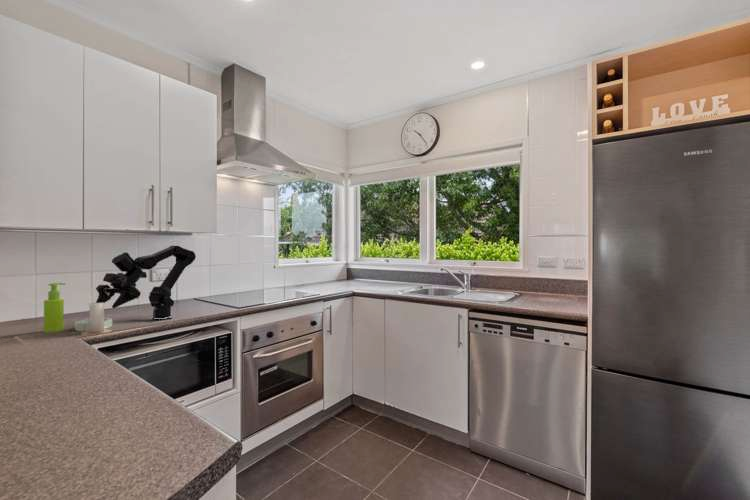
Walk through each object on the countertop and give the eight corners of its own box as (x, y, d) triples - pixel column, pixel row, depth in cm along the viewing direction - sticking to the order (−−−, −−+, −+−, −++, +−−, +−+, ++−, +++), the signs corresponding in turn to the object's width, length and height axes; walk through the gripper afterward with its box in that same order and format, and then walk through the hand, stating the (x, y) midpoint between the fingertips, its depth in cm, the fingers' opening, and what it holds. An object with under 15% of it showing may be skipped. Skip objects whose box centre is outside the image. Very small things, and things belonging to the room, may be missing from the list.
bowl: (106, 324, 155) (106, 317, 155) (115, 328, 148) (115, 320, 148) (71, 329, 145) (71, 321, 145) (80, 333, 138) (80, 324, 138)
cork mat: (107, 329, 145) (107, 327, 145) (116, 332, 140) (116, 331, 140) (77, 333, 137) (77, 332, 137) (85, 337, 131) (85, 335, 131)
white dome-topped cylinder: (101, 329, 142) (102, 302, 142) (105, 331, 139) (106, 303, 139) (87, 332, 138) (88, 303, 138) (91, 333, 135) (91, 304, 135)
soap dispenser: (69, 329, 145) (70, 282, 145) (52, 333, 138) (53, 284, 138) (57, 329, 145) (57, 282, 145) (39, 333, 138) (40, 283, 139)
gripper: (100, 266, 149) (72, 294, 138) (134, 266, 144) (107, 295, 133) (118, 283, 157) (92, 310, 146) (150, 283, 152) (126, 312, 141)
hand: (104, 307), depth 141 cm, fingers open, 9 cm apart
